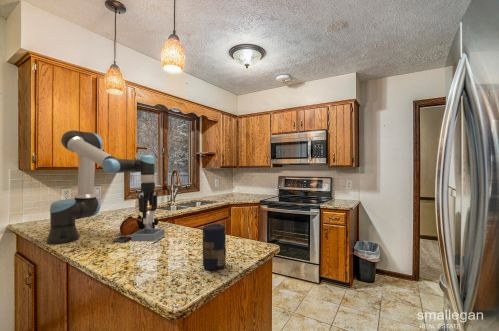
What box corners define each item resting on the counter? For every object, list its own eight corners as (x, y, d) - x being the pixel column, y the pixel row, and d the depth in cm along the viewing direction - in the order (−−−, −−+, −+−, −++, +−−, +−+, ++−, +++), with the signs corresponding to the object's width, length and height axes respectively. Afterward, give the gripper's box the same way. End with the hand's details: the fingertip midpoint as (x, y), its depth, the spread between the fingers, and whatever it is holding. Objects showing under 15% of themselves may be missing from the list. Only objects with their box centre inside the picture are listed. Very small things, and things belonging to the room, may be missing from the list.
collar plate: (108, 245, 134) (107, 240, 134) (119, 239, 144) (119, 235, 144) (125, 245, 133) (125, 241, 133) (135, 240, 143) (135, 235, 143)
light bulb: (144, 229, 139) (142, 206, 139) (143, 228, 144) (141, 206, 144) (153, 228, 141) (151, 205, 141) (153, 226, 146) (151, 204, 146)
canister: (204, 263, 107) (203, 221, 107) (226, 261, 108) (225, 220, 108) (201, 272, 98) (200, 226, 98) (225, 271, 98) (225, 225, 98)
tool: (153, 243, 161) (161, 219, 165) (120, 237, 144) (130, 211, 148) (147, 240, 166) (154, 218, 170) (114, 235, 149) (123, 210, 153)
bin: (131, 243, 137) (131, 234, 137) (144, 236, 149) (143, 228, 149) (153, 243, 135) (153, 234, 135) (164, 237, 148) (164, 228, 148)
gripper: (141, 183, 133) (142, 226, 133) (163, 181, 149) (164, 220, 149) (130, 183, 136) (131, 226, 136) (153, 181, 152) (154, 219, 152)
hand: (148, 222), depth 142 cm, fingers closed on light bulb, 4 cm apart
